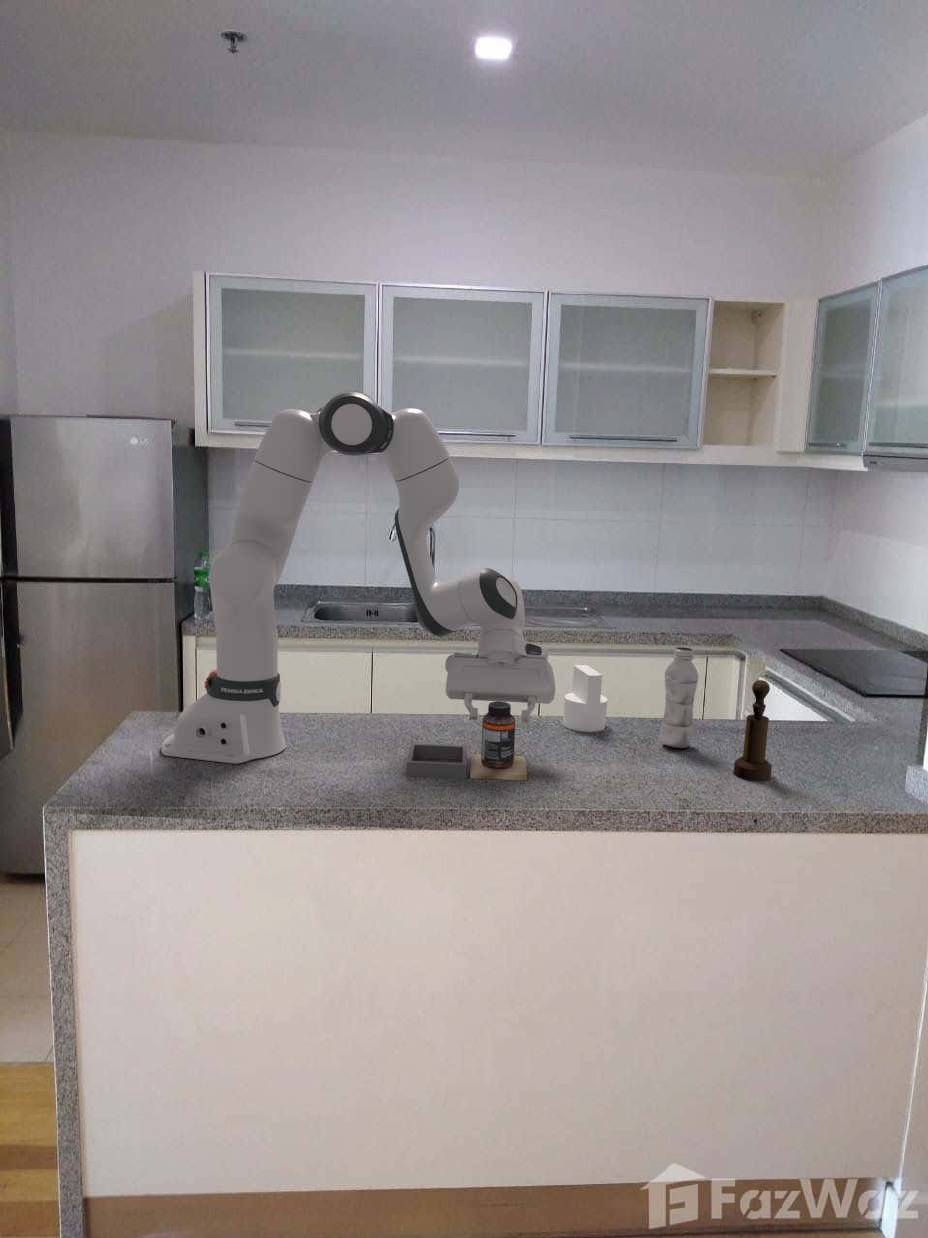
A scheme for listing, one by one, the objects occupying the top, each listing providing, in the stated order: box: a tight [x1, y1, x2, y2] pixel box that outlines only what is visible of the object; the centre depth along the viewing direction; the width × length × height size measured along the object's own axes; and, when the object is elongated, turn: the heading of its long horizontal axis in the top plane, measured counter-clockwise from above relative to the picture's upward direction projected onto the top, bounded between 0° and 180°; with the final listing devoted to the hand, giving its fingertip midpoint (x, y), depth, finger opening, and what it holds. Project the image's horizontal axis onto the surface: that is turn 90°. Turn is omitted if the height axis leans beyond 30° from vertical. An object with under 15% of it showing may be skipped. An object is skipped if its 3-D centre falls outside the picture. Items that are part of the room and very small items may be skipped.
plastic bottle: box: [659, 646, 699, 749], centre depth 189 cm, size 6×7×20 cm
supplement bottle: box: [480, 701, 516, 769], centre depth 172 cm, size 6×6×11 cm
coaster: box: [469, 753, 528, 781], centre depth 173 cm, size 10×10×1 cm
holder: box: [405, 742, 468, 779], centre depth 173 cm, size 11×11×2 cm
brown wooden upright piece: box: [733, 679, 773, 782], centre depth 175 cm, size 7×6×18 cm
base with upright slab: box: [562, 664, 608, 733], centre depth 202 cm, size 9×9×12 cm
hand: (499, 720), depth 173 cm, fingers open, 8 cm apart
